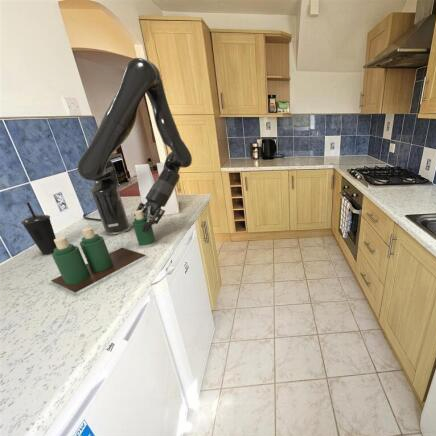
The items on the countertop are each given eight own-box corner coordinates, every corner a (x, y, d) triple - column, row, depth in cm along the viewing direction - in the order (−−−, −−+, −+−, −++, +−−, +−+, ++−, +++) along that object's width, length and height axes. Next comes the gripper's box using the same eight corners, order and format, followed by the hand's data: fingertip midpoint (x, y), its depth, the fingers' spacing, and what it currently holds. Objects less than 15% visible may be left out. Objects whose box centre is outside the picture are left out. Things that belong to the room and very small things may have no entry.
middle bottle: (86, 269, 80) (70, 231, 74) (106, 260, 85) (92, 223, 79) (97, 273, 78) (81, 234, 72) (116, 264, 82) (102, 226, 77)
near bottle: (61, 281, 74) (41, 241, 69) (83, 271, 79) (66, 232, 73) (71, 286, 72) (52, 245, 66) (94, 275, 77) (77, 236, 71)
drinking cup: (68, 248, 96) (47, 200, 88) (45, 258, 89) (19, 207, 81) (56, 245, 98) (34, 198, 90) (32, 254, 91) (6, 205, 83)
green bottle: (135, 245, 96) (125, 212, 90) (149, 239, 101) (140, 207, 95) (146, 248, 94) (135, 215, 88) (159, 242, 99) (150, 209, 93)
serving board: (51, 283, 75) (50, 280, 75) (122, 249, 93) (121, 247, 93) (76, 295, 70) (75, 292, 69) (146, 257, 88) (146, 255, 87)
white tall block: (179, 212, 128) (168, 165, 118) (146, 218, 122) (132, 168, 112) (178, 202, 144) (169, 159, 134) (149, 206, 138) (137, 162, 129)
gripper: (142, 185, 98) (120, 222, 94) (163, 190, 91) (140, 230, 87) (157, 194, 104) (137, 229, 100) (178, 199, 97) (158, 237, 93)
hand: (139, 230), depth 93 cm, fingers open, 6 cm apart
